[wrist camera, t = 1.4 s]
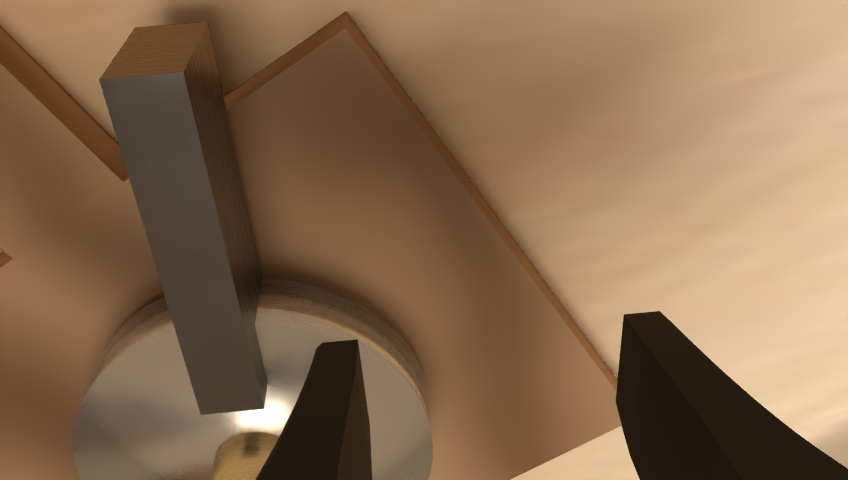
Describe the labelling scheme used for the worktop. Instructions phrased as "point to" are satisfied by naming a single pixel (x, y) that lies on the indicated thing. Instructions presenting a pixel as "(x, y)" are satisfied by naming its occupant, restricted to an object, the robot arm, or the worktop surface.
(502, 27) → the worktop surface
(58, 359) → the walnut stand
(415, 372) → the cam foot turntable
